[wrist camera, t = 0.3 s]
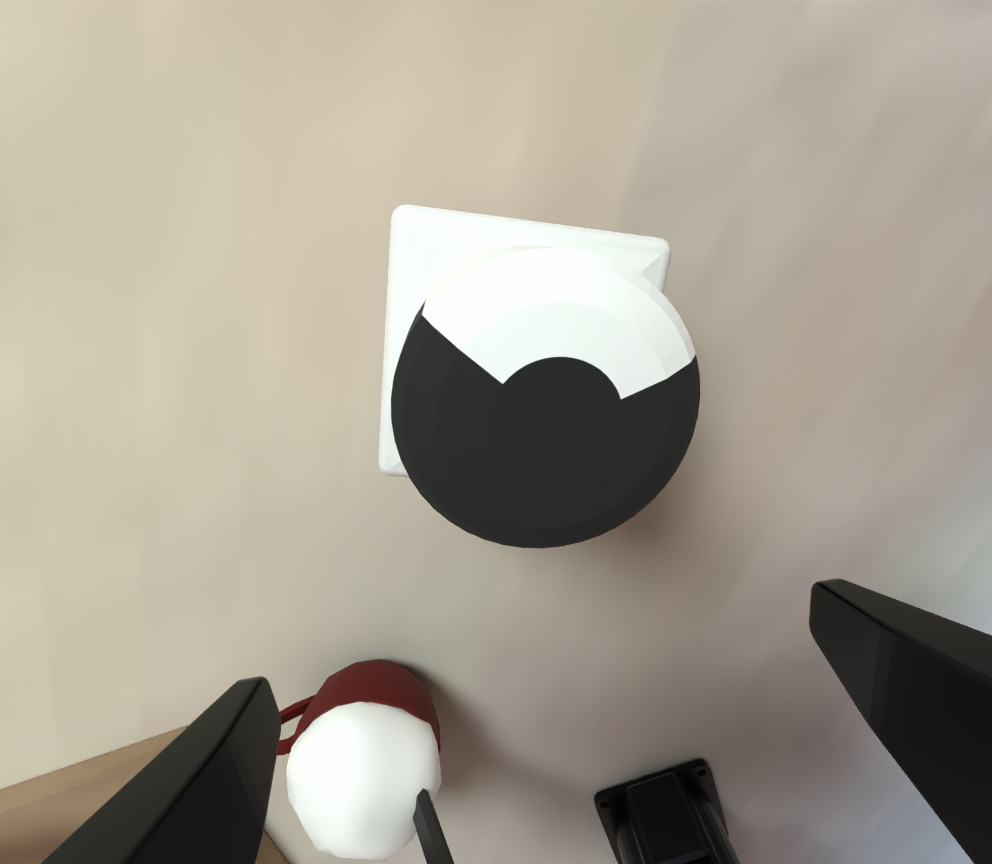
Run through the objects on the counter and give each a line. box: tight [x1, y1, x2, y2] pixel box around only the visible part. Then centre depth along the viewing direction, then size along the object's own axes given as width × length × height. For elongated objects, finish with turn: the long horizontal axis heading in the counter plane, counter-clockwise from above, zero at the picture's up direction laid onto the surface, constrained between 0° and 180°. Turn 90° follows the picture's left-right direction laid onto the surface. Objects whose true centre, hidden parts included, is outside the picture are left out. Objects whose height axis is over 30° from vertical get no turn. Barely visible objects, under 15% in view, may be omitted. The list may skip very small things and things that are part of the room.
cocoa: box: [277, 660, 454, 864], centre depth 21 cm, size 10×6×12 cm, turn 59°
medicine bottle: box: [378, 205, 700, 548], centre depth 16 cm, size 7×7×12 cm
